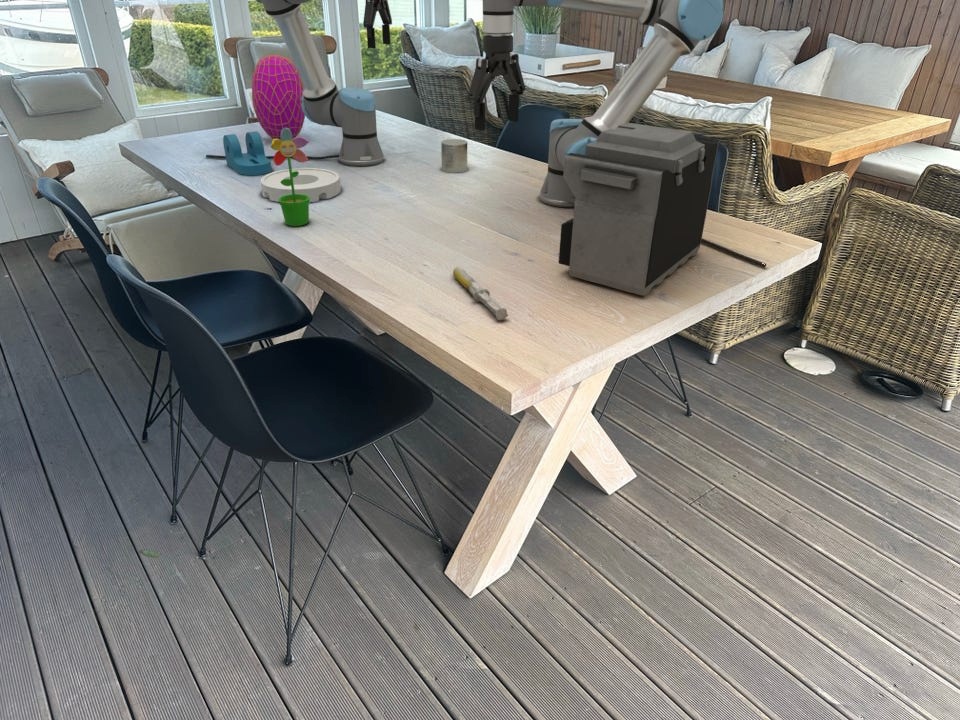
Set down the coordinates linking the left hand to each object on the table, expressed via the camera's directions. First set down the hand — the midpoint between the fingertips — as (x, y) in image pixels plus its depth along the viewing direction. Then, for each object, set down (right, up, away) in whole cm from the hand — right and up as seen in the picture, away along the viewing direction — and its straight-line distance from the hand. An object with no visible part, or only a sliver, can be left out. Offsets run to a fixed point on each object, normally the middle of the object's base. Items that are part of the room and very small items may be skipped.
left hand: (379, 46), depth 251 cm
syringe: (+37, -102, -106) cm, 151 cm away
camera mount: (-40, -51, -22) cm, 68 cm away
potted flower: (-12, -78, -67) cm, 104 cm away
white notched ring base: (-17, -64, -43) cm, 79 cm away
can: (+28, -51, -19) cm, 61 cm away
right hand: (+41, -55, -74) cm, 101 cm away
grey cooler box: (+72, -92, -90) cm, 148 cm away
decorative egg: (-39, -30, +14) cm, 51 cm away
